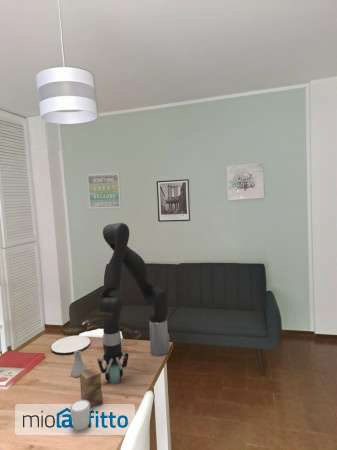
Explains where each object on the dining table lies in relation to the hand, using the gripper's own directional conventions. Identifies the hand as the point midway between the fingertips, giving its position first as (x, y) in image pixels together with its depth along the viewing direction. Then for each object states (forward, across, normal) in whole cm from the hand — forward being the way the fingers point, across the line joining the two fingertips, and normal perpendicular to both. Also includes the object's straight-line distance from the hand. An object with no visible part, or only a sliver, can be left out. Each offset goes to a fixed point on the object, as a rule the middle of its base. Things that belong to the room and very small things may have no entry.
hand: (114, 378), depth 137 cm
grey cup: (+1, +18, +21) cm, 28 cm away
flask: (+1, +13, -14) cm, 19 cm away
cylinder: (+1, 0, 0) cm, 1 cm away
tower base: (+1, +12, +10) cm, 16 cm away
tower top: (-5, +12, +10) cm, 16 cm away
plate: (+1, +12, -45) cm, 47 cm away
